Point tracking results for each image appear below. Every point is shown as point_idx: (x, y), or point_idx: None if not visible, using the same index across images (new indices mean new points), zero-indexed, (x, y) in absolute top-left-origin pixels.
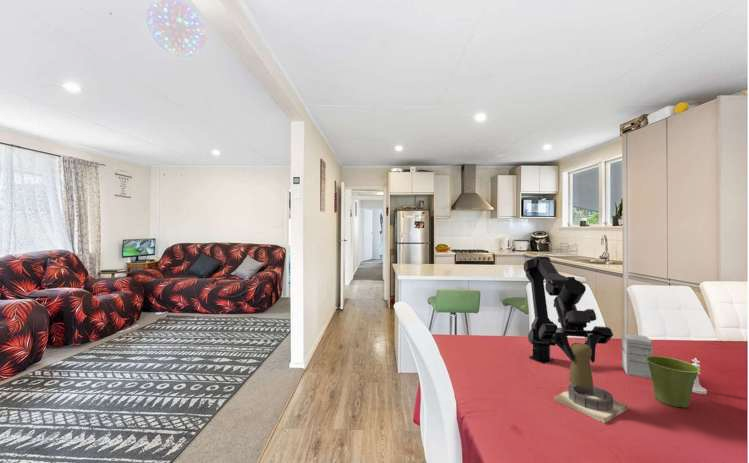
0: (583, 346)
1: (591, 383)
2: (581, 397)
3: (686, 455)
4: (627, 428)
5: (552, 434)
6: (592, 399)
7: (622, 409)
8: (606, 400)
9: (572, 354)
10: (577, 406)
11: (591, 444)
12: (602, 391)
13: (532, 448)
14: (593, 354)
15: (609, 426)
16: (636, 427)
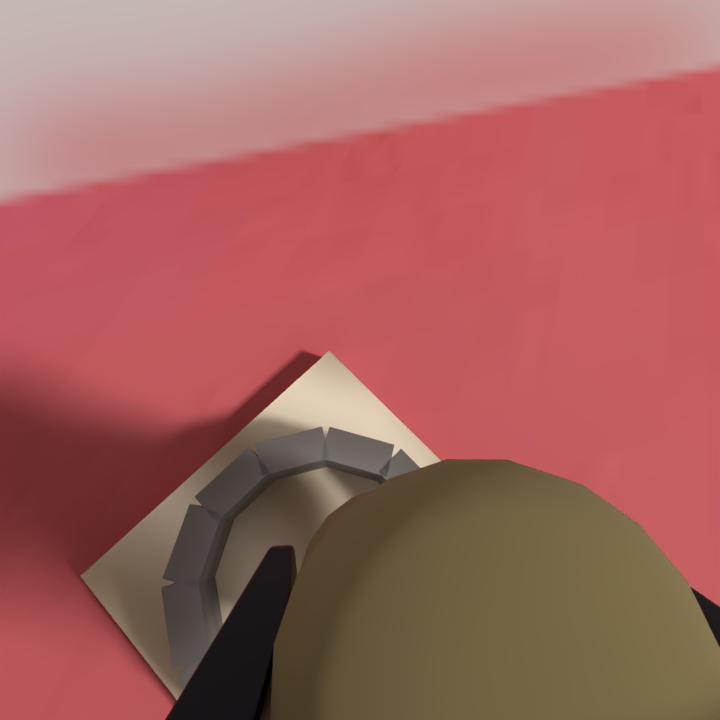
0: (508, 549)
1: (334, 513)
2: (418, 467)
3: (90, 188)
4: (227, 339)
5: (602, 209)
6: (352, 447)
7: (146, 520)
8: (256, 456)
9: None
10: (436, 459)
11: (456, 177)
12: (206, 635)
13: (685, 110)
14: (251, 626)
15: (314, 336)
16: (172, 360)
